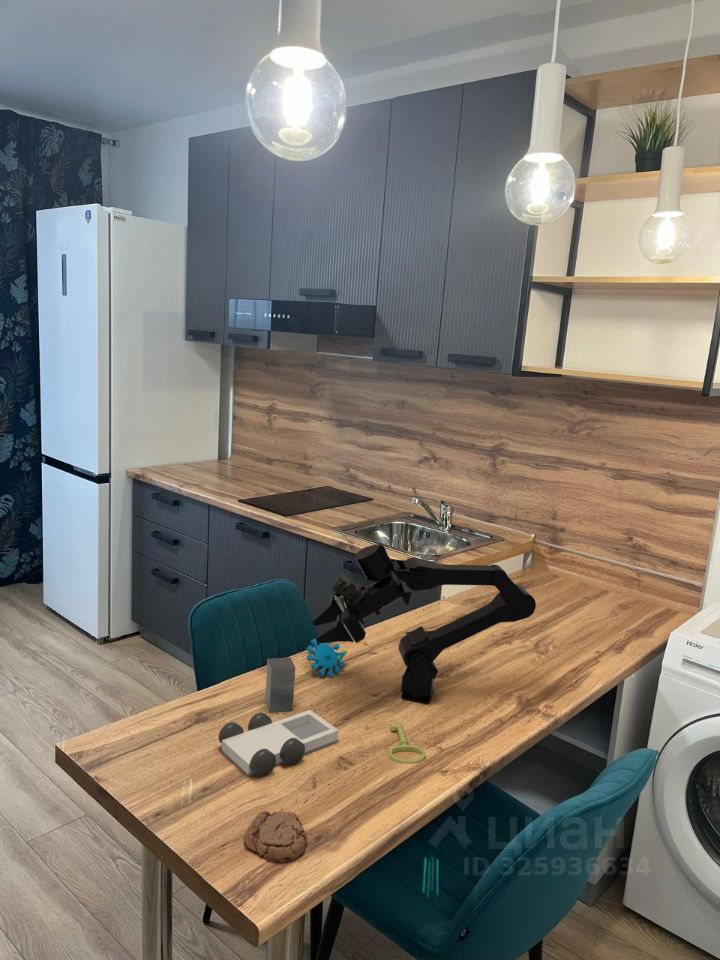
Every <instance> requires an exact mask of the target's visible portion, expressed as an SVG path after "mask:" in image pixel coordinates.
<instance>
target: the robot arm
mask: <svg viewBox="0 0 720 960" xmlns="http://www.w3.org/2000/svg"><path fill="white" fill-rule="evenodd" d="M354 560H355V561H356V563H357V565H358V567H359V568H360V570H361V572H362V573H363V575H364V577H365V578H366V579H367V581H372V582H373V583H371V584H370V585H367V584H361V585H359V586H358V585H357V584H356V583H354V582H353V581H352V580H351V579H350V578H348V577H347V576H346V575H345V574H343V573H342V572H339V573H337V575H336V576H335V577H334V578H333V580H332V581H331V582H330V583H329V584H330V585H331V589H332V590H333V591H332V592H333V593H331V595H330V600H329V604H328V605H327V606H326V607H325V608H324V609H323V610H322V611H321V612H320V613H319V614H318V615H317V616H316V618H314V619H313V620H312V625H313V626H314V627H318V626H321V625H322V626H323V625H325V624H329V623H333V622H335V623H334V624H333V625H331V626H330V627H329V628H327V629H326V630H325V631H324V632H322V633H321V634H319V636H317V637H316V638H315V639H316V641H317V644H319V643H323V644H326V643H329V642H332V643H338V642H339V643H341V642H351V643H354V642H355V644H358V643H360V642H361V641H364V640H365V637H366V634H367V632H366V630H365V628H364V625H363V624H365V619H367V618H368V617H370V616H372V615H374V614H375V615H376V616H378V615H381V611H382V609H383V608H385V607H387V606H389V605H391V604H392V603H395V602H396V601H398V600H399V599H402V600H403V602H404V604H405V605H407V606H409V605H410V601H411V597H412V594H413V593H412V592H411V591H415V592H416V591H417V592H421V591H425V590H433V589H435V588H437V587H441V586H445V585H446V586H490V587H491V586H493V587H495V588H496V589H497V590H498V591H499V592H498V593H497V594H496V595H495V596H494V598H493V599H492V600H491V601H490V602H489V603H488V604H486V605H484V606H482V607H480V608H478V609H476V610H473V611H471V612H469V613H468V614H467V613H466V614H465V615H463V616H461V617H459V618H456V619H455V620H452V621H450V622H448V623H446V624H445V625H442V626H440V627H438V628H436V629H434V630H425V629H424V627H423V626H422V625H421V626H418V627H417V628H415V629H414V630H412V631H407V632H405V635H404V636H403V637H401V639H400V640H399V643H398V652H399V655H400V656H401V659H402V661H403V664H404V666H405V667H406V669H405V670H404V672H403V674H402V677H401V687H400V692H401V693H402V694H401V695H400V696H401V699H403V700H407V701H412V702H416V703H422V704H426V705H427V704H428V705H429V704H430V703H431V701H432V698H433V696H434V694H435V689H434V685H435V684H434V683H435V679H436V678H437V674H438V673H439V670H438V668H437V666H436V664H435V662H434V661H435V660H436V659H437V658H438V657H439V655H440V654H441V653H442V652H443V651H444V650H446V649H448V648H450V647H452V646H454V645H457V644H459V643H461V642H463V641H465V640H467V639H469V638H470V637H473V636H476V635H477V634H479V633H481V632H483V631H485V630H487V629H490V628H491V627H494V626H495V625H498V624H501V623H515V622H520V621H522V620H525V619H528V618H530V617H531V616H533V615H534V613H535V611H536V607H537V603H536V600H535V598H534V596H532V595H531V594H530V592H528V591H527V590H526V589H525V588H524V587H523V586H521V585H518V584H515V582H514V581H513V580H512V579H511V578H510V577H509V575H508V573H507V572H506V571H505V569H503V568H502V567H501V566H499V565H498V564H495V563H494V564H489V565H488V564H487V565H485V564H484V565H483V564H482V565H481V564H479V565H478V564H442V563H439V562H434V561H431V560H428V559H423V558H418V557H408V558H407V559H394V558H393V559H392V558H390V556H389V555H388V553H387V549H386V547H385V546H384V544H383V543H382V542H379V543H378V544H372V545H369V546H365V547H363V548H362V549H360V550H359V551H357V553H356V554H355V556H354ZM392 572H393V573H394V574H395V576H396V578H394V577H393V575H392ZM403 582H404V583H405V585H406V586H407V587H408V588H409V589H408V588H406V587H405V586H404V584H403Z"/></svg>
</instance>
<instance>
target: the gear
mask: <svg viewBox="0 0 720 960" xmlns="http://www.w3.org/2000/svg"><path fill="white" fill-rule="evenodd" d="M310 643H311V644H309V645H308V646H307V647H306V651H307V652H309V653H308V654H307V655H306V660H307V661H308V662H309V661H314V662H313V663H312V664H310V667H311V669H312V670H313V671H315V670H316V669H317V667H320V668H322V669H319V670H318V672H317V674H318V675H320V676H321V677H323V676H324V675H325V672H326V669H327V670H328V672H327V673H326V677H328V678H332V677H334V674H335V675H338V674H339V673H340V672H341V669H340V668H342V667H343V666H345V662H344V661H342V659H343V658H344V657H345V656H346V655H348V651H347V650H343V651H342V652H338V650H339V649H340V648H341V647H340V644H339V643H335V644H334V645H333V646H330V644H332V643H333V642H329V643H317V641H316V638H313V639H312V640H310ZM318 644H319V645H318ZM333 668H334V671H333Z"/></svg>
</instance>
